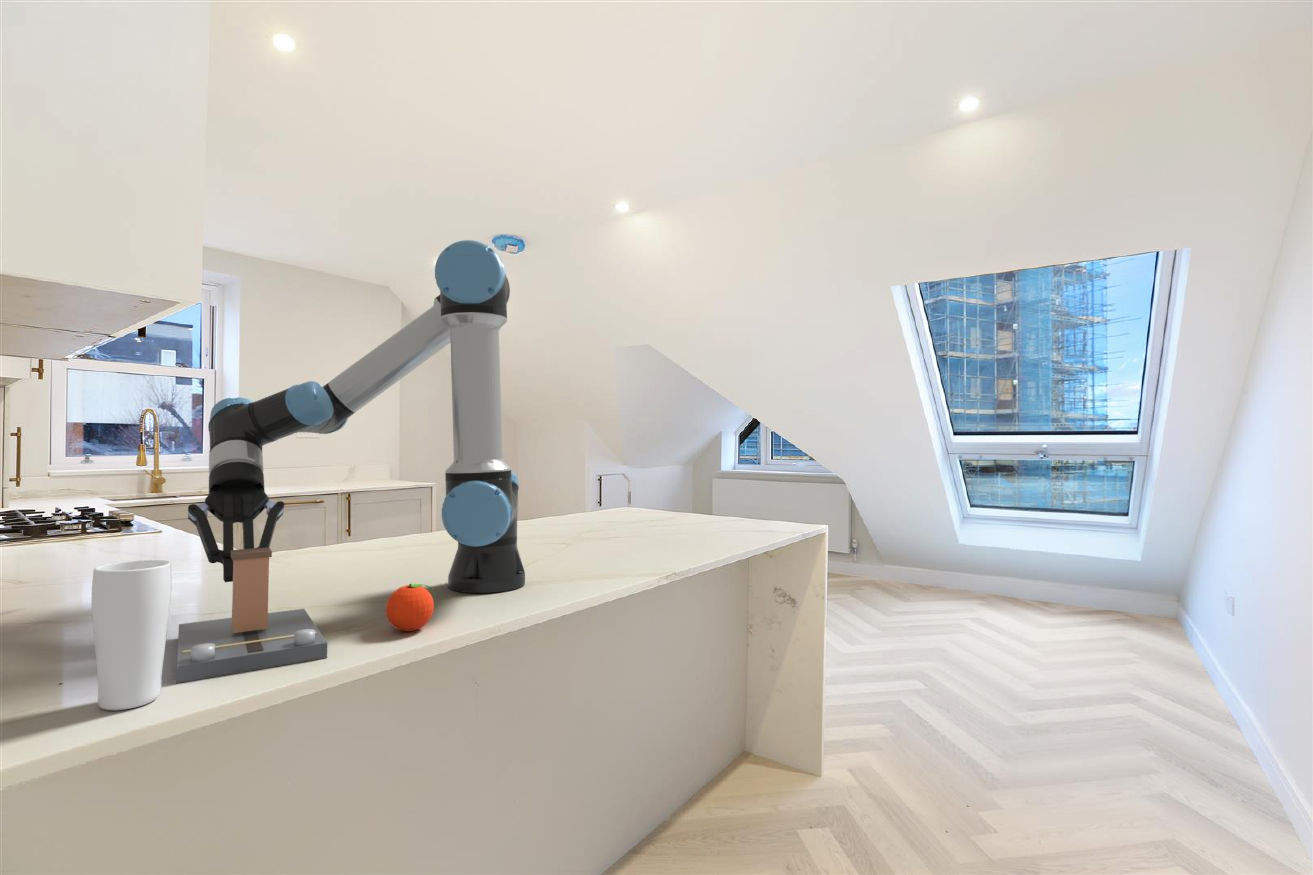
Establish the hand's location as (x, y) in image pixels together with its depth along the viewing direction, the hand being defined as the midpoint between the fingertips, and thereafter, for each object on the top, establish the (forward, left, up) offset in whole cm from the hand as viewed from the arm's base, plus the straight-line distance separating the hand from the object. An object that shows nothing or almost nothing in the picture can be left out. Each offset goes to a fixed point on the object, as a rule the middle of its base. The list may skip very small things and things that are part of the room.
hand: (239, 598), depth 91 cm
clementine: (-22, +7, -6) cm, 24 cm away
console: (-1, +4, -6) cm, 7 cm away
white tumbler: (+11, +18, -6) cm, 22 cm away
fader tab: (-1, +3, -4) cm, 5 cm away
